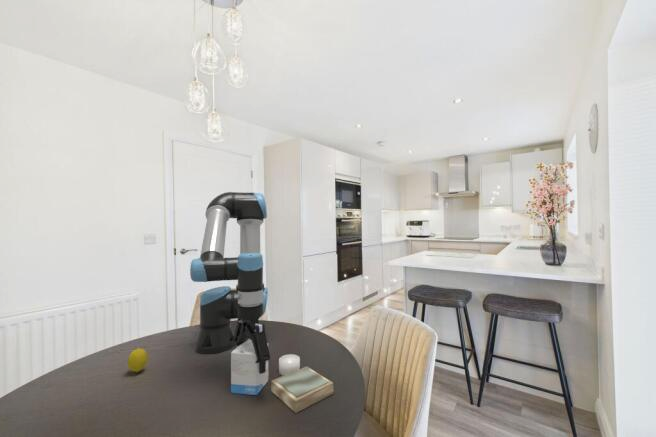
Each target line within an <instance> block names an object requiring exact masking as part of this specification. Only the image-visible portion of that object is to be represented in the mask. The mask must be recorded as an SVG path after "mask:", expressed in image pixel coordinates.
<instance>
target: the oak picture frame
mask: <svg viewBox="0 0 656 437" xmlns="http://www.w3.org/2000/svg"><path fill="white" fill-rule="evenodd" d="M270 387H271V389H270V391H271V392H272V393H273V394H274V395H275V396H276V397H279V398H278V399H280V400H281V401H282V402H283V403H284V404H285V405H286V406H288V408H290V409H291V410H292V411H293V412H294V413H295V414H297V413H299V412H301V411H303V410H304V409H306V408H309V407H310V406H311V405H312V406H313V405H314V404H316V403H318V402H320V401H322V400H324V399H326V398H328V397H329V396H331V395H333V394H334V382H333V381H331V380H330V379H327V377H324V376H323V375H321V374H320V373H318V372H317V371H315V370H314V369H312V368H310V367H309V366H304V367H302V368H301V367H300V369H299V370H296V371H294V372H292V373H289V374H287V375H284V376H283V375H281V376H279V377H277V378H275V379H272V380H271V381H270Z"/></svg>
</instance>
